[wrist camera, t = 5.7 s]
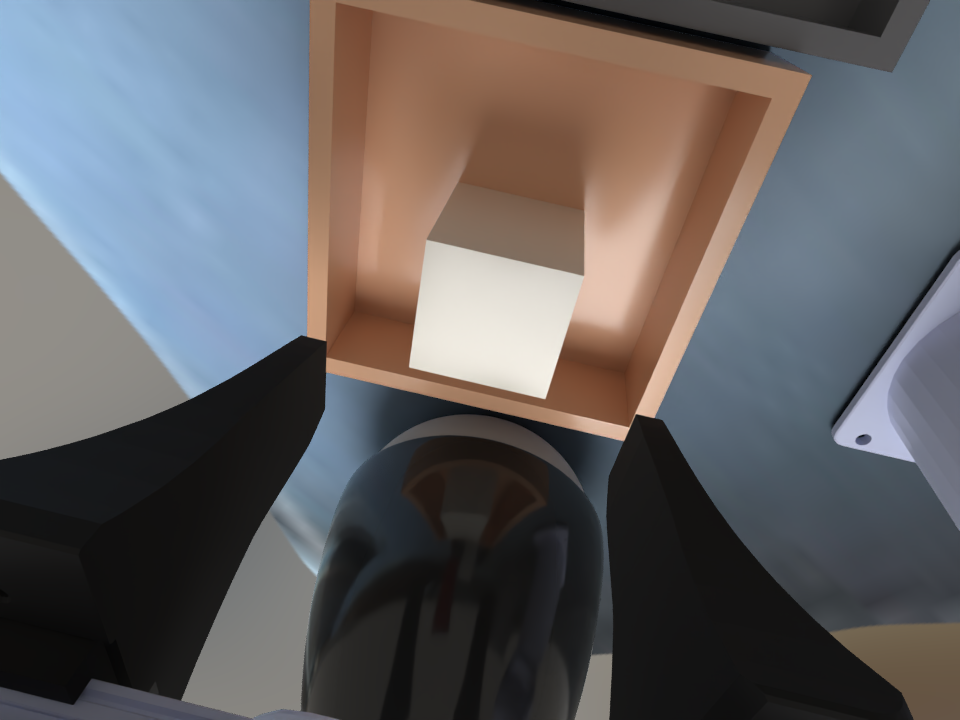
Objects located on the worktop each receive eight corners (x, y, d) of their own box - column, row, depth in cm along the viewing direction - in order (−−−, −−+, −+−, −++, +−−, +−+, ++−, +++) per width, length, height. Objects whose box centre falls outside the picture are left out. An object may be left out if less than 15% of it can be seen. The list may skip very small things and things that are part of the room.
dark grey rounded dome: (502, 575, 30) (443, 1012, 18) (327, 465, 27) (115, 891, 15) (656, 473, 25) (727, 996, 12) (459, 326, 22) (300, 806, 10)
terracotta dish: (770, 51, 16) (812, 75, 13) (634, 380, 22) (641, 445, 19) (360, -38, 16) (310, -35, 13) (343, 313, 23) (307, 367, 20)
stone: (584, 210, 18) (584, 275, 15) (552, 319, 21) (545, 399, 17) (457, 181, 18) (426, 239, 15) (440, 293, 21) (408, 367, 17)
